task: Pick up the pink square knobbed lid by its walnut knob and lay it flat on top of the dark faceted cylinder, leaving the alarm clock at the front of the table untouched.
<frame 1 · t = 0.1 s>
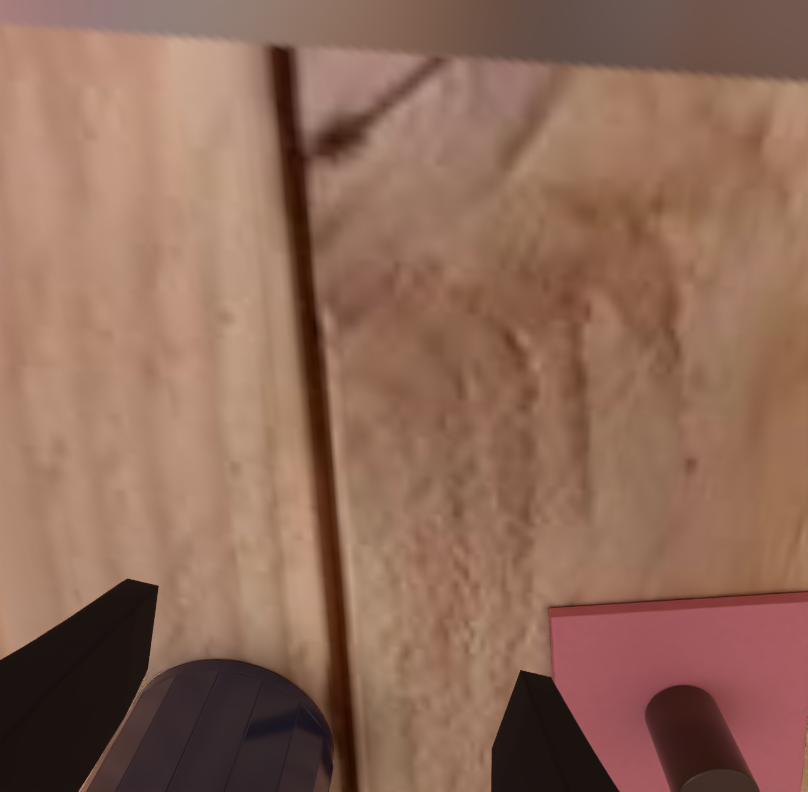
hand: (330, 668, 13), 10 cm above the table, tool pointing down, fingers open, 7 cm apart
dark faceted cylinder: (230, 744, 27), on the table
pink square knobbed lid: (675, 700, 25), on the table
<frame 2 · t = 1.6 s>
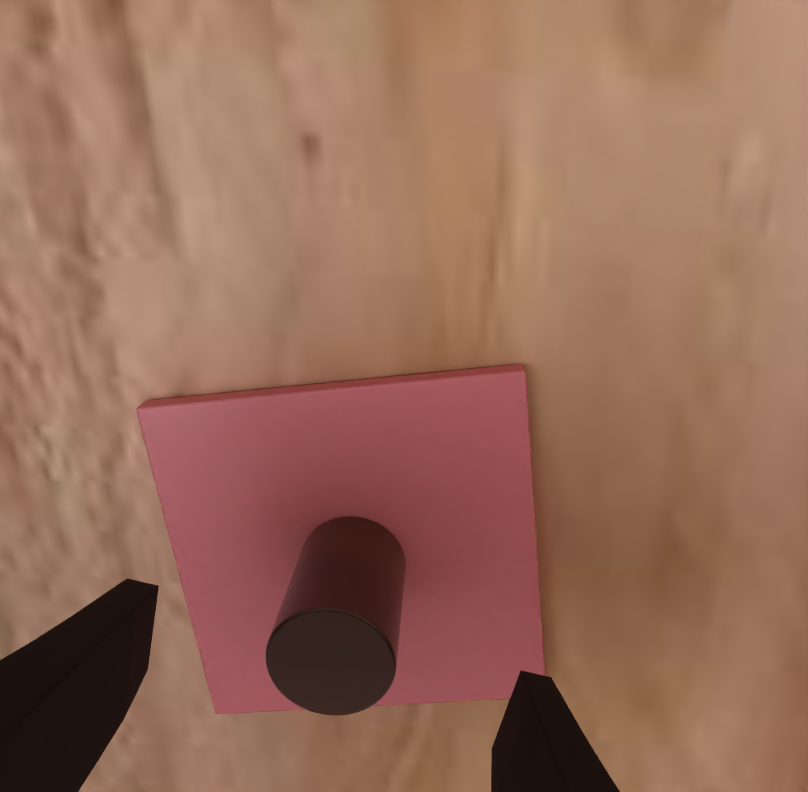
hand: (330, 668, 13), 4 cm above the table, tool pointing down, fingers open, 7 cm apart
pink square knobbed lid: (356, 548, 17), on the table
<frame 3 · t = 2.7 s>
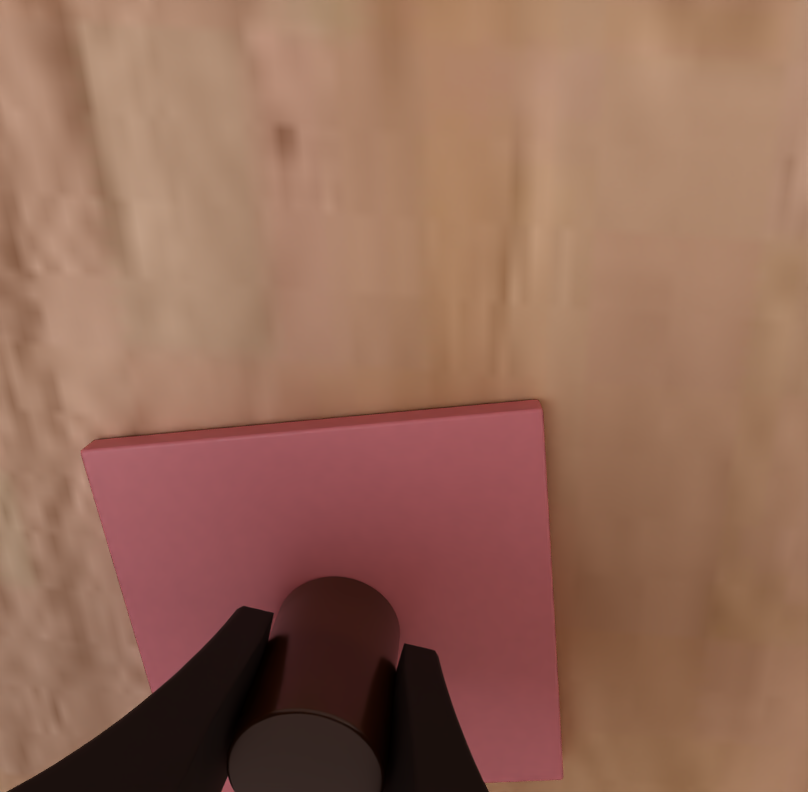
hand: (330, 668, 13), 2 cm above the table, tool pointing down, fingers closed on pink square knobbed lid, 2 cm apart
pink square knobbed lid: (342, 609, 15), on the table, touching gripper
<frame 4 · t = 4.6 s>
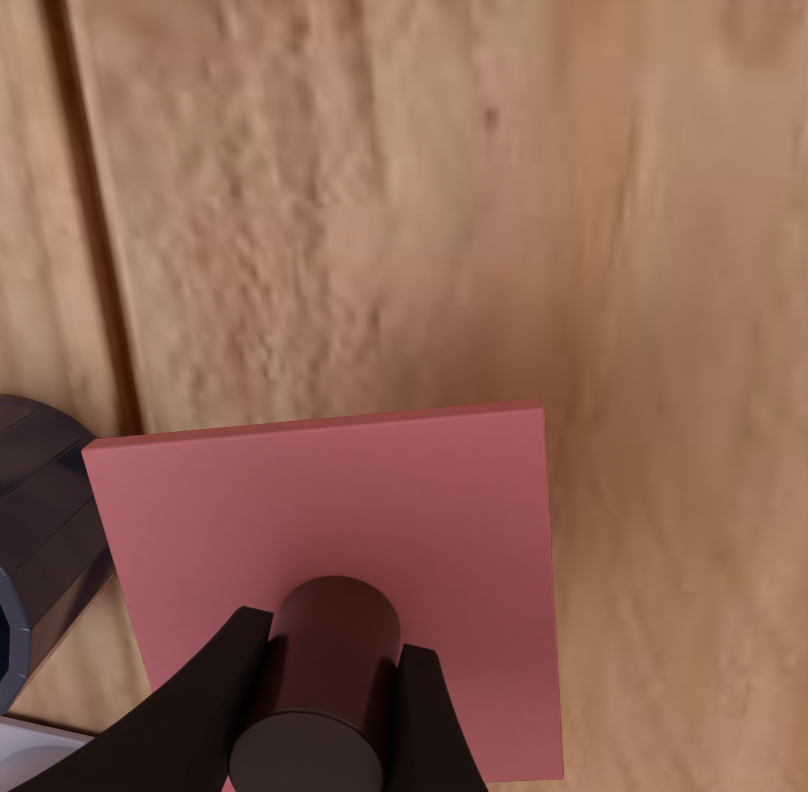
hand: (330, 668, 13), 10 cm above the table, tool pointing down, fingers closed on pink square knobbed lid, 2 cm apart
dark faceted cylinder: (20, 503, 24), on the table
pink square knobbed lid: (343, 609, 15), point 9 cm above the table, touching gripper
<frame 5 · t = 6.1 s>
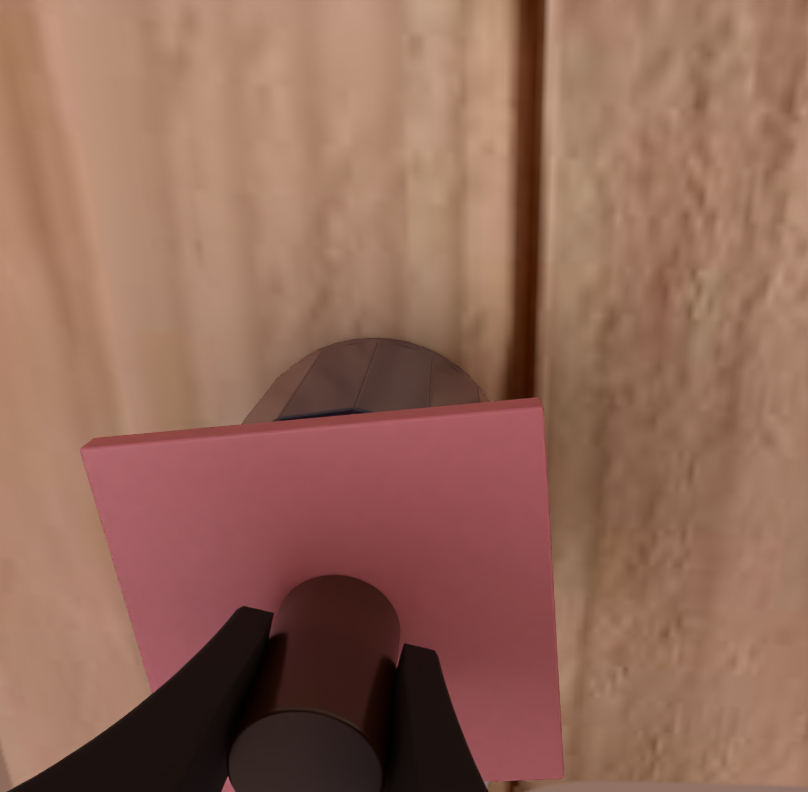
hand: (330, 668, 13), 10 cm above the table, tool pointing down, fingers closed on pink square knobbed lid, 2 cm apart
dark faceted cylinder: (377, 462, 22), on the table
pink square knobbed lid: (342, 608, 15), point 8 cm above the table, touching gripper
when the fingers open (8 cm above the table, at t = 6.8 s): pink square knobbed lid stays where it is, resting on dark faceted cylinder.
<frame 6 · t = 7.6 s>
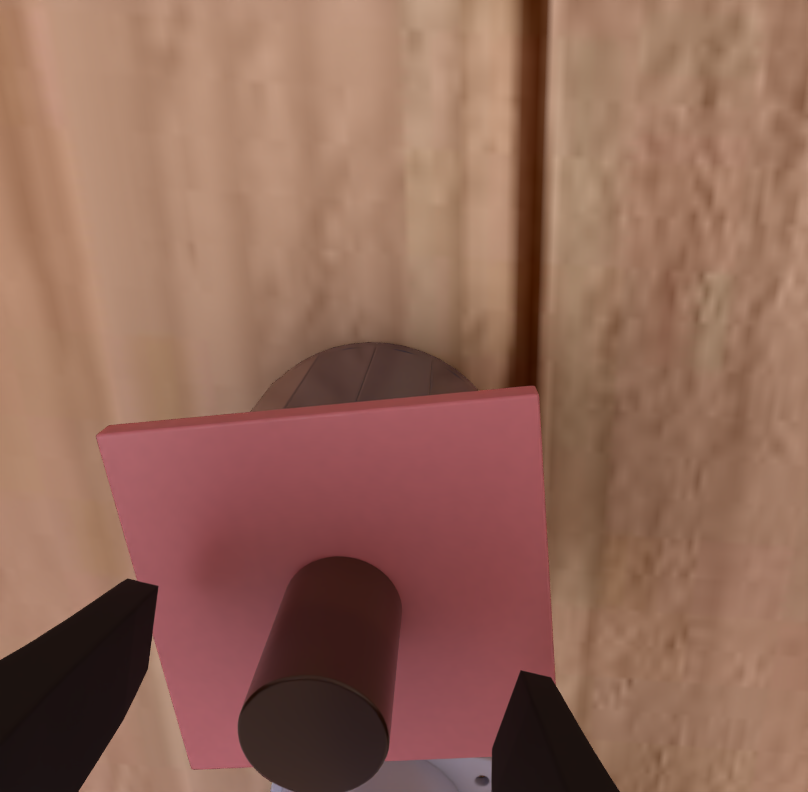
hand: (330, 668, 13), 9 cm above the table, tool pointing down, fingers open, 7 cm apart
dark faceted cylinder: (375, 469, 21), on the table, touching pink square knobbed lid
pink square knobbed lid: (346, 589, 15), point 6 cm above the table, touching dark faceted cylinder
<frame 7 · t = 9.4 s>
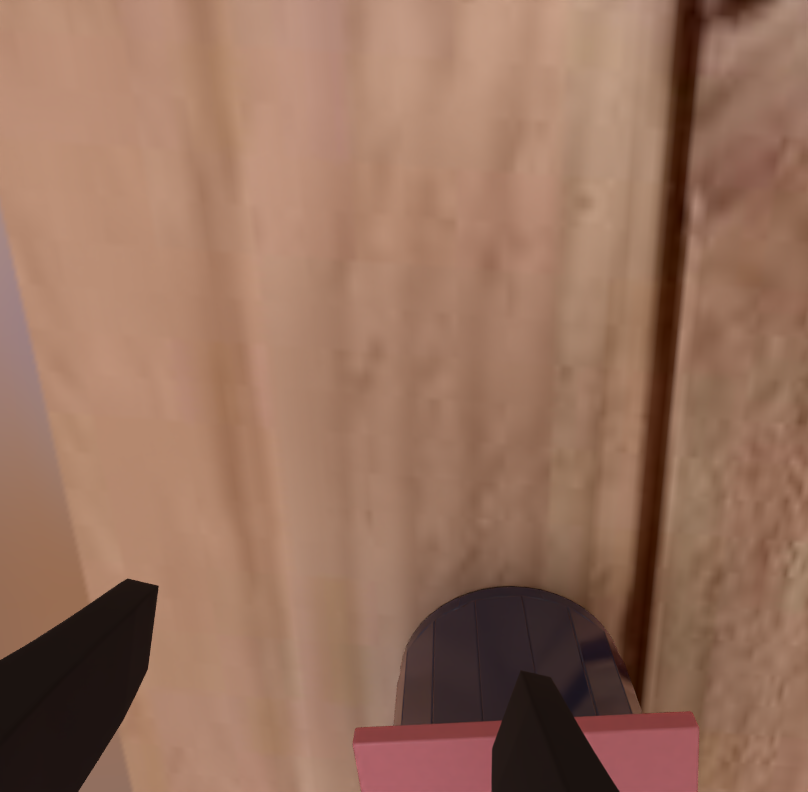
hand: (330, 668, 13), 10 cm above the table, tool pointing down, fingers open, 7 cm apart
dark faceted cylinder: (509, 679, 26), on the table, touching pink square knobbed lid
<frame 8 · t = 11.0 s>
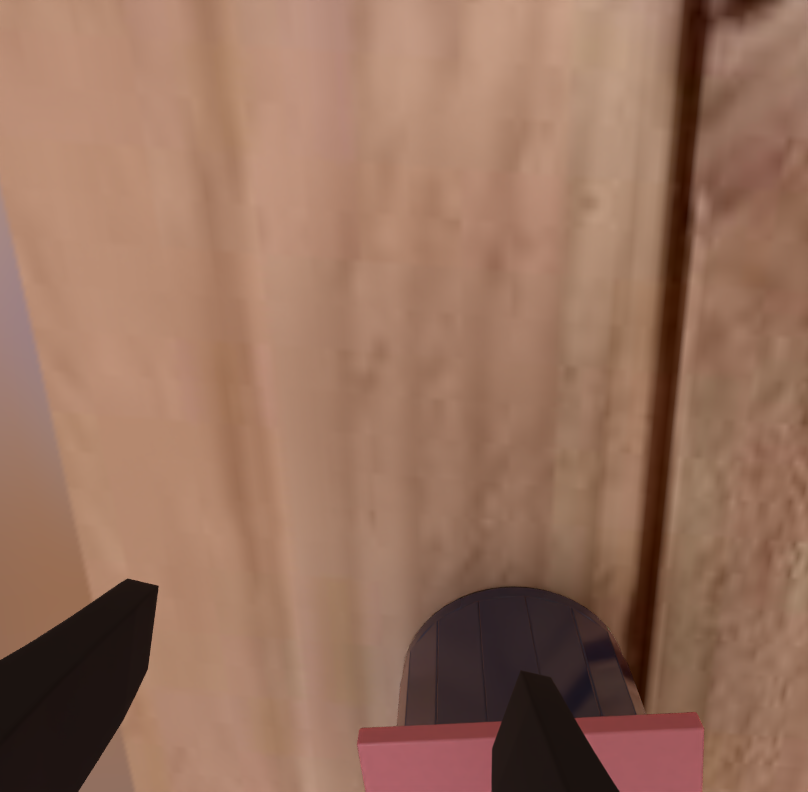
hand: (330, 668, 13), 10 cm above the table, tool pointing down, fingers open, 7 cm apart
dark faceted cylinder: (512, 680, 26), on the table, touching pink square knobbed lid
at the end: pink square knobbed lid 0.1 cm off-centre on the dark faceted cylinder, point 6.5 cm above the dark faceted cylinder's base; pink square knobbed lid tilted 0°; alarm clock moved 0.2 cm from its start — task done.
